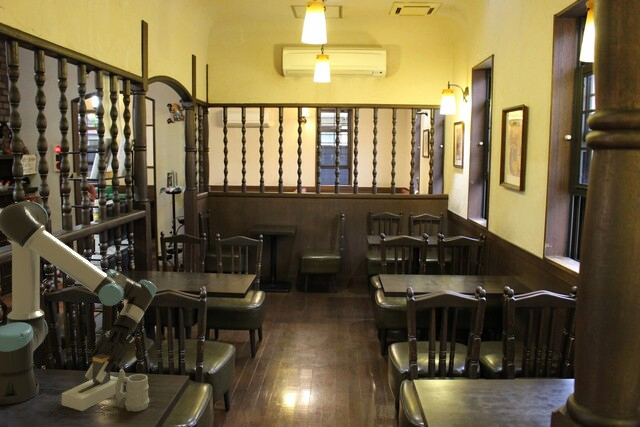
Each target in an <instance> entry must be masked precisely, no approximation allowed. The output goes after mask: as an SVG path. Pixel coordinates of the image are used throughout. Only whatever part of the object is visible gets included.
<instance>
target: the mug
mask: <svg viewBox="0 0 640 427" xmlns="http://www.w3.org/2000/svg"><path fill="white" fill-rule="evenodd" d="M117 378H118V380H117V383H116V386H115V392H116V393H115V394H114V395H115V397H116V399H117V401H118V402H121V401H122V400H123V399H125V400H124V406H125V409H126V411H129V412H140V411H144V410H146V409H147V408H148V407H149V403H150V397H149V382H148V379H149V377H148V375H146V374H143V373H142V374H141V373H137V374H132V375H129V376H126V372H125V370H124V369H123V368H121V369H119V374H118V376H117ZM123 381H127V386H126V389H125V392H123V390H121V384H122V383H123Z"/></svg>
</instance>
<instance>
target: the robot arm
mask: <svg viewBox="0 0 640 427" xmlns="http://www.w3.org/2000/svg"><path fill="white" fill-rule="evenodd" d="M48 220H49V215H48V212H47V210H46V208H45V207H44V206H42V205H41V204H40V203H39V202H38V203H37V202H35V201H28V200H26V201H24V200H23V201H20V202H17V203H12V204H9V205H8V206H6V207H4V208H3V209H2V210H1V211H0V231H1V233H2V234H3V235H5V236H6V239H7V242H9V243H10V244H11V246H12V247H11V249H12V250H11V256H12V258H11V261H12V262H11V265H12V267H11V276H12V277H11V283H12V284H11V286H12V287H11V289H12V290H11V291H12V292H11V293H12V294H11V295H12V297H11V304H12V305H11V306H12V307H11V309H12V310H11V311H10V312H9V313H8V314H7V315H6V316H7V323H5V325H1V326H0V405H2V406H3V405H13V404H17V403H22V402H25V401H28V400H30V399H32V398H35V397H36V395H38V394H39V392H40V390H39V388H40V386H39V385H40V384H39V382H38V379H37V376H36V374H35V372H34V352H35V351H36V349H37V348H38V347H39V346H40V345H41V344H42V343H43V342H44V341H45V339H46V336H47V334H48V323H47V321H46V320H45V312H44V310H42V308H40V298H41V297H40V292H41V291H40V279H41V278H40V272H41V271H40V269H41V268H40V263H41V262H40V260H41V258H43V259H44V260H46V261H47V262H48V263H49V264H52V265H53V266H54V267H56V268H57V269H59V270H60V271H62V272H63V273H65V275H67V276H69V277H70V278H71V279H73V280H74V281H76V282H77V283H79V284H80V285H81V286H83V287H85V288H86V289H88V290H89V291H90V292H91V293H93V294H94V295H96V296H97V297H98V300H99V302H101V304H102V305H104V306H106V307H112V306H115V305H117V304H118V303H120V302H121V301H122V300H125V301H127V302H126V303H125V304H124V307H122V310H121V311H120V312H119V315H118V316H117V318H116V319H115V322H114V323H113V327H112V328H111V329H110V330H103V331H102V333H101V337H100V338H99V340H98V341H97V343H96V345H95V347H94V348H93V350H92V352H91V353H90V356H91V357H92V358H93V357H94V356H96V355H99V354H101V353H103V354H107V353H108V352H109V351H110V349H111V348H112V346H113V348H112V350H111V354H110V355H111V356H110V358H109V359H107V360H108V361H109V362H108V361H106V362H105V363H104V365H103V367H102V369H101V370H100V372H99V374H98V375H97V377H96V379H97V380H98V381H99V382H102V381H103V379H104V377H105V376H106V374H107V373H109V371H110V370H112V368H113V366H114V365H116V364H118V365H119V364H121V362H122V361H123V359H124V357H125V356H126V354H127V352H128V350H129V349H130V347H131V346H132V344H134V343H135V341H136V339H135V337H133V336H132V334H133V333H134V331H135V330H136V329H137V327H138V324H139V323H140V321H141V319H142V318H143V316H144V315H145V313H146V311H147V309H148V308H149V306H150V304H151V303H152V301H153V299H154V297H155V296H156V293H157V291H158V288H157V286H156V285H155V284H154V283H153V282H151V281H150V280H146V279H141V280H140V281H139V282H137V281H135V280H133V279H131V278H130V277H128V276H126V275H124V274H122V273H120V272H119V271H117V270H114V269H111V268H110V269H108V270H107V271H106V272H104V271H103V270H102V269H100V268H99V267H97V266H96V265H94V264H93V263H92V262H91V261H89V260H88V259H86V258H85V257H83V256H82V255H81V254H80V253H78V252H77V251H75V250H74V249H72V248H71V247H70V246H68V245H67V244H66V243H64V242H63V241H62V240H60V239H58V238H57V237H55V236H54V235H53V234H52V233H50V232H48V231H47V230H46V226H47V225H48ZM88 367H89V368H88V369H87V371H86V372H85V375H84V377H86V378H87V379H88V380H89V381H90V380H92V379H93V360H92V361H91V363H90V364H89V366H88Z"/></svg>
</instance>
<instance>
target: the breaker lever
mask: <svg viewBox="0 0 640 427" xmlns="http://www.w3.org/2000/svg"><path fill="white" fill-rule="evenodd" d="M110 356H111V354H110V355H109V354H107V353H106V354H103V353H101V354H99V355H96V356H94V357H93V356H92V361H93V377H92V379H93V383H97V384H101V385H102V384H104V383H106V382H108V381H110V376H111V370H112V369H111V370H110V371H109V373H107V374H106V376H105V377H104V379H103V381H102V382H99V381H98V380H97V379H96V377H97V375H98V374H99V372H100V370H101V369H102V367H103V365H104V363H105V362H106V361H108V360H107V359H109V358H110ZM108 362H109V361H108Z"/></svg>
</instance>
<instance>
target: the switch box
mask: <svg viewBox="0 0 640 427" xmlns="http://www.w3.org/2000/svg"><path fill="white" fill-rule="evenodd" d="M117 380H118V376H117V377H116V376H112V375H110V381H108V382H106V383H104V384H102V385H101V384H97V383H93V378H92V379H91V380H90V379H89V380H88V381H86V382H84V383H82V384H79V385H77V386H74V387H73V388H70V389H69V390H66V391H64V392H61V406H64V407H68V408H71V409H74V410H77V411H81V412H83V411H85V410H87V409H89V408H91V407H93V406H94V405H97V404H99V403H100V402H103V401H104V400H107V399H108V398H110V397H113V396H114V395H115V393H116V392H115V386H116V383H117ZM121 390H122V391H124V388H123V383H122V384H121Z"/></svg>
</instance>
